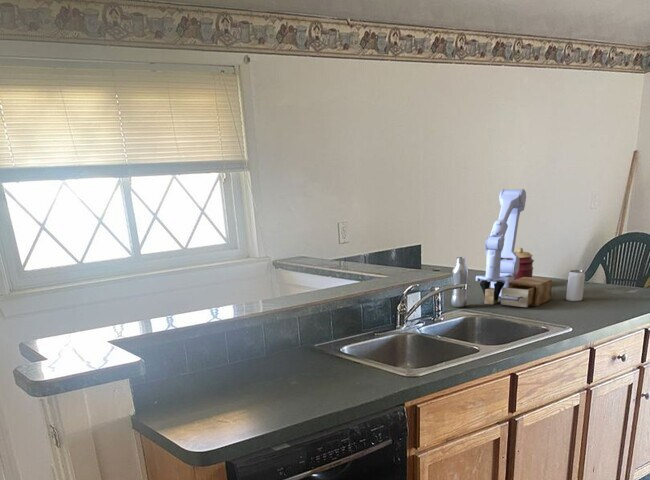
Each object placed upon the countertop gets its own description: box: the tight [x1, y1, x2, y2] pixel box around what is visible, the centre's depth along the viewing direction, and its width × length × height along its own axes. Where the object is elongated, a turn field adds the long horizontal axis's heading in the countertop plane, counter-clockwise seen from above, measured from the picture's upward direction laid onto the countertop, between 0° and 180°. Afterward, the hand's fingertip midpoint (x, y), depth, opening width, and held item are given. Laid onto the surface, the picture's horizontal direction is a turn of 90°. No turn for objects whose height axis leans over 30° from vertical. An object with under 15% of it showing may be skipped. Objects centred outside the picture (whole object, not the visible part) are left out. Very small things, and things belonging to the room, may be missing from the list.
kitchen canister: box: [505, 247, 535, 280], centre depth 303 cm, size 13×13×18 cm
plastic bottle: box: [450, 256, 469, 308], centre depth 267 cm, size 6×7×20 cm
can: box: [565, 269, 586, 302], centre depth 272 cm, size 6×6×12 cm
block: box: [484, 287, 499, 305], centre depth 274 cm, size 4×4×6 cm
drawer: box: [500, 285, 536, 308], centre depth 267 cm, size 18×11×7 cm, turn 140°
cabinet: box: [509, 276, 553, 307], centre depth 274 cm, size 15×13×9 cm
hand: (491, 299), depth 275 cm, fingers closed on block, 4 cm apart
